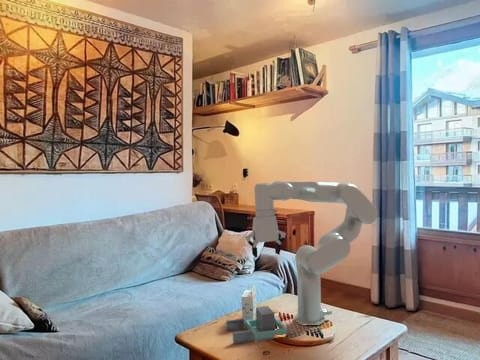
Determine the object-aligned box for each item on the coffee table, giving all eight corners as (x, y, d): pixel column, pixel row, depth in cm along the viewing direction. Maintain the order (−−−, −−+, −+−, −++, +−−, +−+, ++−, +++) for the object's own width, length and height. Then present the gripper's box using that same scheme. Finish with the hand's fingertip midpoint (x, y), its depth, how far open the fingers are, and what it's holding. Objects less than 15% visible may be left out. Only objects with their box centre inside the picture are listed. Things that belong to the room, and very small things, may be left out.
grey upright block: (268, 325, 159) (267, 306, 158) (274, 333, 151) (274, 313, 151) (256, 326, 158) (255, 307, 157) (262, 335, 150) (261, 314, 149)
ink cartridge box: (245, 316, 171) (244, 282, 170) (256, 316, 170) (256, 283, 169) (241, 324, 163) (240, 289, 162) (253, 324, 162) (252, 289, 161)
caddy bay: (243, 328, 159) (243, 318, 158) (251, 341, 147) (251, 331, 146) (226, 330, 157) (226, 320, 157) (233, 344, 145) (233, 333, 145)
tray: (275, 323, 162) (275, 316, 162) (287, 336, 150) (287, 329, 150) (245, 327, 159) (245, 320, 159) (254, 341, 147) (254, 333, 146)
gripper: (280, 210, 165) (282, 250, 165) (241, 214, 160) (243, 255, 161) (288, 212, 157) (289, 254, 158) (247, 216, 152) (249, 259, 153)
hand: (266, 255), depth 159 cm, fingers open, 9 cm apart
